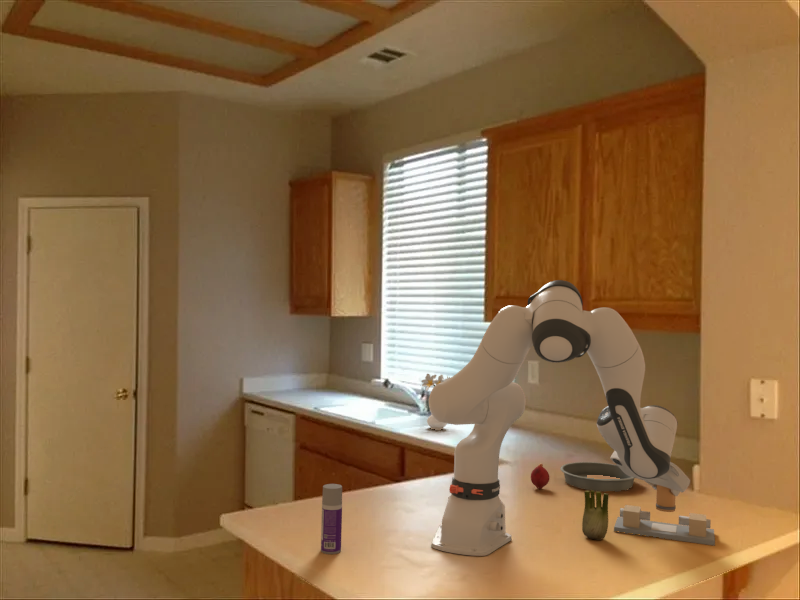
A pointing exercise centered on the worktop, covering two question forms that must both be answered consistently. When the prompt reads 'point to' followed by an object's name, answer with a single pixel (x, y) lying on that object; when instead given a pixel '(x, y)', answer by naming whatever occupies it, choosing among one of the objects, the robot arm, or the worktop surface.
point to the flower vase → (428, 383)
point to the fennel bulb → (595, 516)
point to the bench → (665, 526)
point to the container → (331, 519)
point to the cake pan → (580, 470)
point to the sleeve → (665, 500)
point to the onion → (540, 476)
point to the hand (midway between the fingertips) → (667, 490)
